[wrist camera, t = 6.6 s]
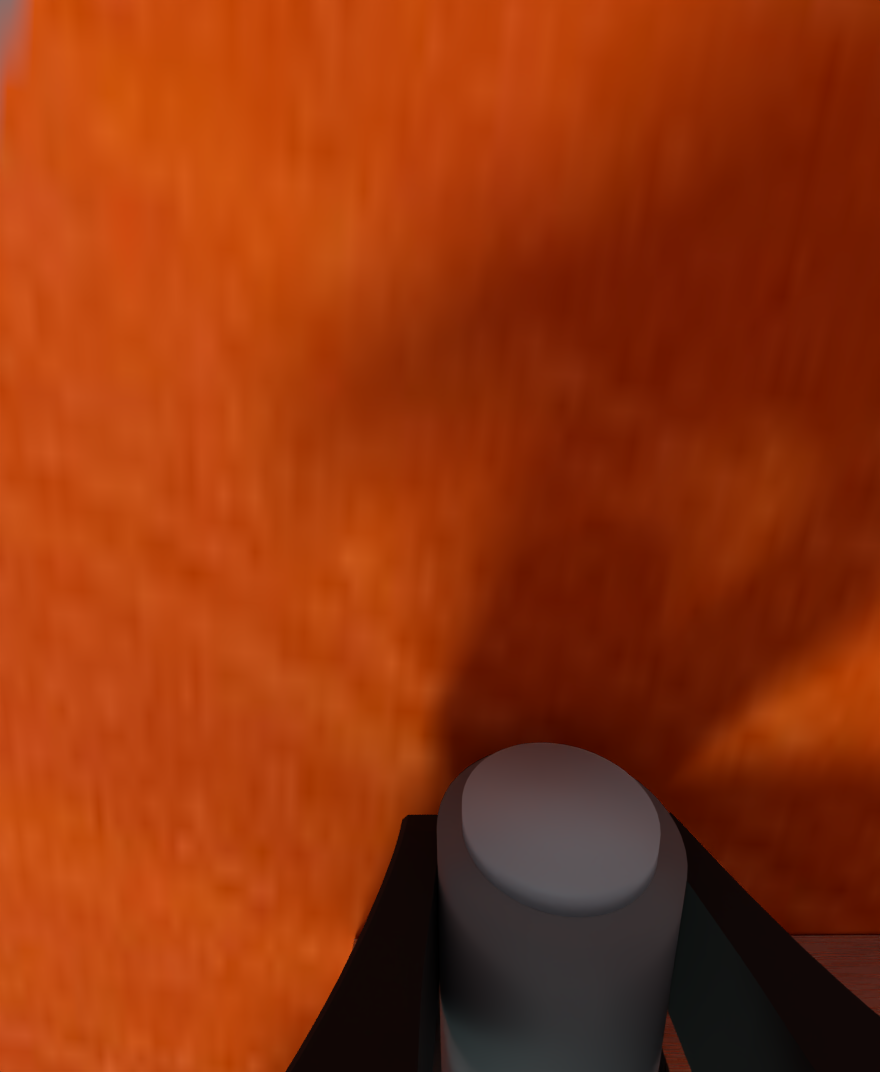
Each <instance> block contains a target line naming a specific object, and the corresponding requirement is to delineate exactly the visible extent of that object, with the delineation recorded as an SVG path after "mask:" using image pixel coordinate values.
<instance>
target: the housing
mask: <svg viewBox="0 0 880 1072" xmlns="http://www.w3.org/2000/svg"><path fill="white" fill-rule="evenodd" d="M792 937H793V938H794V939H795V940H796V941H797V942H798V943H799V944H800V945H801V946H802V947H803V948H804V949H805V950H806V951H807V952H808V953H809V954H810V955H812V956H813V957H814V958H815V959H816V960H817V961H818V962H819V963H820V964H821V965H822V966H823V967H825V968H826V969H827V970H828V971H829V972H830V973H831V974H832V975H833V976H834V977H835V978H837V979H838V980H839V981H840V982H841V983H842V984H843V985H844V986H845V987H846V988H848V989H849V990H850V991H851V992H852V993H853V994H854V995H856V996H857V997H858V998H859V999H860V1000H861V1001H862V1002H864V1003H865V1004H866V1005H867V1006H868V1007H869V1008H871V1009H872V1010H873V1011H874V1012H875V1013H876V1014H878V1015H879V1016H880V935H826V936H792ZM357 940H358V939H354V943H353V948H354V946H355V944H356V942H357ZM352 950H353V949H352ZM432 1072H441V1032H440V979H439V992H438V1005H437V1019H436V1032H435V1045H434V1058H433V1071H432ZM658 1072H691V1069H690V1066H689V1064H688V1061H687V1059H686V1056H685V1054H684V1051H683V1049H682V1046H681V1043H680V1041H679V1038H678V1036H677V1033H676V1031H675V1028H674V1026H673V1023H672V1021H671V1018H670V1015H669V1013H668V1010H667V1016H666V1023H665V1030H664V1037H663V1043H662V1050H661V1057H660V1064H659V1070H658Z"/></svg>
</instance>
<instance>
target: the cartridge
mask: <svg viewBox="0 0 880 1072" xmlns="http://www.w3.org/2000/svg"><path fill="white" fill-rule="evenodd" d="M687 866H688V864H687V856H686V850H685V847H684V843H683V840H682V837H681V834H680V832H679V830H678V828H677V826H676V824H675V822H674V821H673V819H672V817H671V816H670V814H669V812H668V811H667V810H666V809H665V807H664V806H663V805H662V804H661V802H660V801H659V800H658V799H657V798H656V797H655V796H654V795H653V794H652V793H651V792H650V791H649V790H648V789H647V788H646V787H644V786H643V785H642V784H641V783H640V782H638V781H637V780H636V779H634V778H633V777H631V776H630V775H629V774H628V773H627V772H626V771H624V770H623V769H621V768H620V767H619V766H617V765H616V764H614V763H612V762H611V761H609V760H607V759H605V758H603V757H601V756H599V755H597V754H595V753H592V752H589V751H587V750H584V749H581V748H577V747H574V746H569V745H564V744H557V743H541V742H540V743H526V744H519V745H515V746H511V747H508V748H505V749H502V750H500V751H498V752H496V753H494V754H492V755H489V756H487V757H485V758H482V759H480V760H478V761H477V762H475V763H473V764H472V765H470V766H469V767H467V768H466V769H465V770H464V771H463V772H462V773H460V774H459V775H458V776H457V777H456V779H455V780H454V781H453V782H452V783H451V785H450V786H449V788H448V789H447V791H446V792H445V795H444V797H443V799H442V801H441V804H440V808H439V812H438V818H437V868H438V922H439V977H440V1032H441V1072H658V1070H659V1064H660V1057H661V1050H662V1043H663V1037H664V1030H665V1023H666V1016H667V1010H668V1003H669V996H670V989H671V983H672V976H673V969H674V962H675V956H676V949H677V942H678V935H679V929H680V922H681V915H682V908H683V902H684V895H685V888H686V881H687Z"/></svg>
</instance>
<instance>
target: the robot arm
mask: <svg viewBox="0 0 880 1072" xmlns="http://www.w3.org/2000/svg"><path fill="white" fill-rule="evenodd" d="M669 814H670V816H671V817H672V819H673V821H674V822H675V824H676V826H677V828H678V830H679V832H680V834H681V837H682V840H683V843H684V847H685V850H686V856H687V864H688V866H687V881H686V888H685V895H684V902H683V908H682V915H681V922H680V929H679V935H678V942H677V949H676V956H675V962H674V969H673V976H672V983H671V989H670V996H669V1003H668V1013H669V1015H670V1018H671V1021H672V1023H673V1026H674V1028H675V1031H676V1033H677V1036H678V1038H679V1041H680V1043H681V1046H682V1049H683V1051H684V1054H685V1056H686V1059H687V1061H688V1064H689V1066H690V1069H691V1072H880V1016H879V1015H878V1014H876V1013H875V1012H874V1011H873V1010H872V1009H871V1008H869V1007H868V1006H867V1005H866V1004H865V1003H864V1002H862V1001H861V1000H860V999H859V998H858V997H857V996H856V995H854V994H853V993H852V992H851V991H850V990H849V989H848V988H846V987H845V986H844V985H843V984H842V983H841V982H840V981H839V980H838V979H837V978H835V977H834V976H833V975H832V974H831V973H830V972H829V971H828V970H827V969H826V968H825V967H823V966H822V965H821V964H820V963H819V962H818V961H817V960H816V959H815V958H814V957H813V956H812V955H810V954H809V953H808V952H807V951H806V950H805V949H804V948H803V947H802V946H801V945H800V944H799V943H798V942H797V941H796V940H795V939H794V938H793V937H792V936H790V935H789V934H788V933H787V932H786V931H785V930H784V929H783V928H782V927H781V926H780V925H779V924H778V923H777V922H776V921H775V920H774V919H773V918H772V917H771V916H770V915H769V914H768V913H767V912H766V911H765V910H764V909H763V908H762V907H761V906H760V905H759V904H758V903H757V902H756V901H755V900H754V899H753V898H752V897H751V896H750V895H749V894H748V893H747V892H746V891H745V890H744V889H743V888H742V887H741V886H740V885H739V884H738V883H737V882H736V881H735V880H734V879H733V877H732V876H731V875H730V874H729V873H728V872H727V871H726V870H725V869H724V868H723V867H722V866H721V865H720V864H719V863H718V862H717V861H716V860H715V859H714V858H713V857H712V855H711V854H710V853H709V852H708V851H707V850H706V849H705V848H704V847H703V846H702V845H701V844H700V843H699V842H698V841H697V840H696V838H695V837H694V836H693V835H692V834H691V833H690V832H689V831H688V830H687V829H686V828H685V827H684V826H683V825H682V824H681V823H680V822H679V821H678V820H677V819H676V817H675V816H674V815H673V814H672V813H669ZM437 818H438V815H407V816H406V817H405V818H404V819H403V820H402V824H401V829H400V833H399V836H398V840H397V843H396V847H395V850H394V853H393V856H392V859H391V861H390V864H389V867H388V870H387V872H386V875H385V878H384V880H383V883H382V885H381V888H380V890H379V892H378V895H377V897H376V899H375V902H374V904H373V907H372V909H371V911H370V914H369V916H368V918H367V921H366V923H365V925H364V927H363V930H362V932H361V934H360V936H359V938H358V940H357V942H356V944H355V946H354V948H353V950H352V952H351V954H350V956H349V958H348V960H347V962H346V964H345V967H344V969H343V971H342V973H341V975H340V977H339V979H338V981H337V982H336V984H335V986H334V988H333V990H332V992H331V994H330V996H329V998H328V999H327V1001H326V1003H325V1005H324V1007H323V1009H322V1010H321V1012H320V1014H319V1016H318V1018H317V1019H316V1021H315V1023H314V1025H313V1026H312V1028H311V1030H310V1032H309V1033H308V1035H307V1037H306V1039H305V1040H304V1042H303V1044H302V1046H301V1047H300V1049H299V1051H298V1052H297V1054H296V1056H295V1057H294V1059H293V1060H292V1062H291V1064H290V1065H289V1067H288V1069H287V1070H286V1072H432V1071H433V1058H434V1045H435V1032H436V1019H437V1005H438V992H439V979H440V977H439V922H438V868H437Z"/></svg>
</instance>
